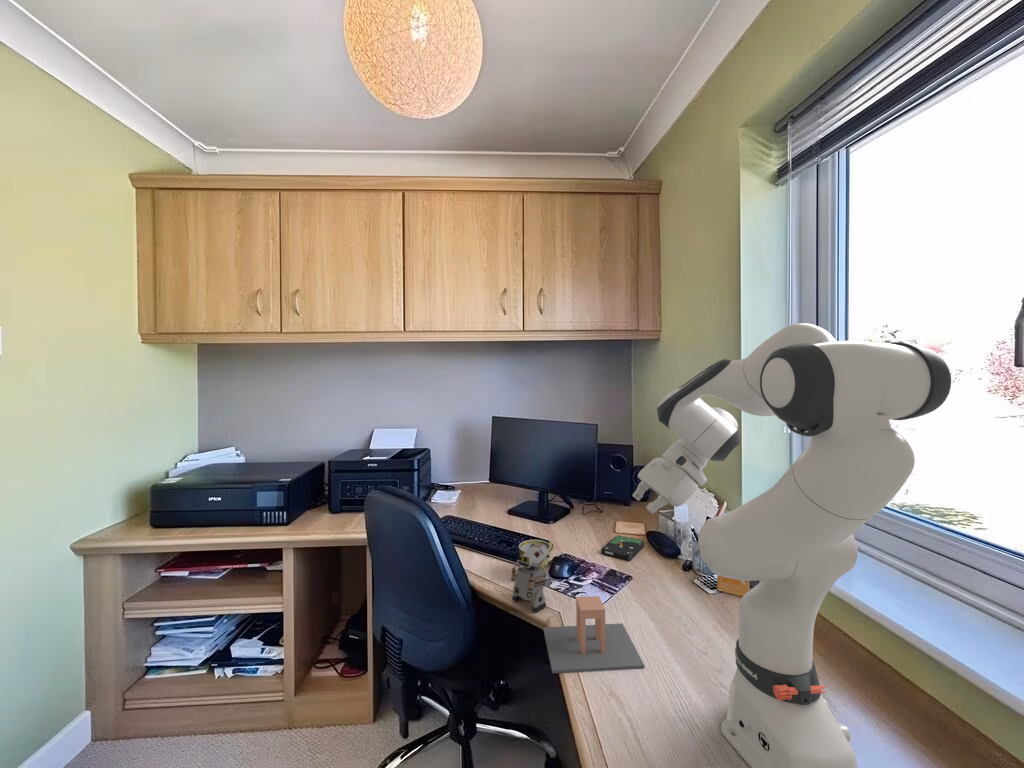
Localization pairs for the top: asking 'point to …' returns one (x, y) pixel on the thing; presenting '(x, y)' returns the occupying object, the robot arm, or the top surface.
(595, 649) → the charcoal mat
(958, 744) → the top surface
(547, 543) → the ceramic cup
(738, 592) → the small box
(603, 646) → the miniature stool
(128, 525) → the top surface
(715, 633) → the top surface
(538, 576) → the figurine
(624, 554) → the disk drive
